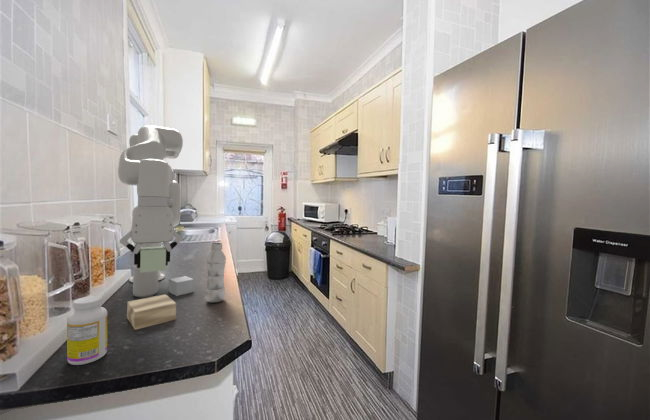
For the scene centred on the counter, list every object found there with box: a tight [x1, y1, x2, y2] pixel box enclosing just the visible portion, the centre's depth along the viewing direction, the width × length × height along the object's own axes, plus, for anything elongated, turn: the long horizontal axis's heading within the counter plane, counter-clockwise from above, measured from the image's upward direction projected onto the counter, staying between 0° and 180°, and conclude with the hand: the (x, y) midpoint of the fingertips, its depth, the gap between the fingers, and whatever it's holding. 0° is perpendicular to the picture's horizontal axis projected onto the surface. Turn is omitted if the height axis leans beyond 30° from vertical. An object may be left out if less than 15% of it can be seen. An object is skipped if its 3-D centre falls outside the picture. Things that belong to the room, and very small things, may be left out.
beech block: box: [126, 294, 177, 330], centre depth 80 cm, size 10×10×5 cm
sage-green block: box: [139, 245, 167, 273], centre depth 80 cm, size 6×6×6 cm
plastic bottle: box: [204, 242, 227, 304], centre depth 95 cm, size 6×7×20 cm
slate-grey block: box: [168, 275, 194, 297], centre depth 103 cm, size 6×6×5 cm
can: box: [132, 265, 159, 298], centre depth 99 cm, size 8×8×12 cm
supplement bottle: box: [66, 295, 108, 366], centre depth 60 cm, size 7×7×13 cm
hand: (152, 265), depth 80 cm, fingers closed on sage-green block, 6 cm apart
